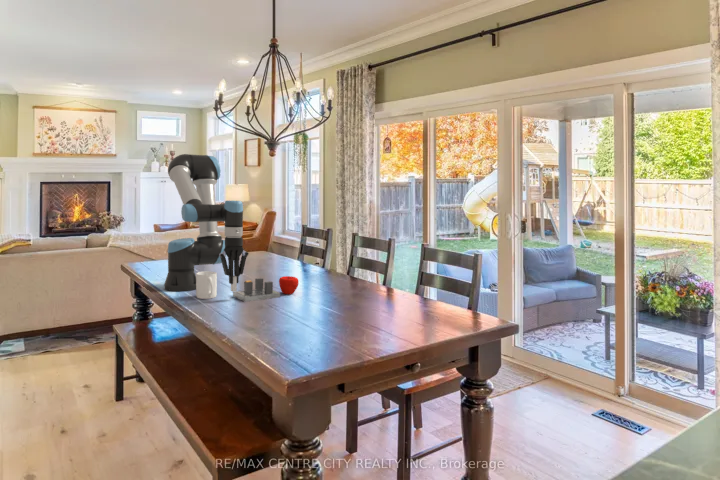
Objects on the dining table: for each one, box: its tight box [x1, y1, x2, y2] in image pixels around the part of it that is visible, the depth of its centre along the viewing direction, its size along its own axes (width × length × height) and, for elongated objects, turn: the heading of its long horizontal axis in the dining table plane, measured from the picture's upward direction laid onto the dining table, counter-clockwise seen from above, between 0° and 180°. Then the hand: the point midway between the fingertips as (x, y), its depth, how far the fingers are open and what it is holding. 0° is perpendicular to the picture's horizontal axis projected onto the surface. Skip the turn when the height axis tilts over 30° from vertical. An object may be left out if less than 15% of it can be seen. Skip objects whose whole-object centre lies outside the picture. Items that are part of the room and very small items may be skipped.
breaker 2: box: [263, 280, 274, 294], centre depth 216 cm, size 2×3×5 cm, turn 129°
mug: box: [195, 271, 218, 300], centre depth 213 cm, size 9×12×11 cm
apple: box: [278, 275, 299, 295], centre depth 226 cm, size 9×9×8 cm
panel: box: [232, 287, 281, 303], centre depth 218 cm, size 12×17×2 cm
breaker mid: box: [243, 280, 254, 294], centre depth 215 cm, size 2×3×5 cm, turn 129°
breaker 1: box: [254, 277, 264, 290], centre depth 223 cm, size 2×3×5 cm, turn 129°
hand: (233, 290), depth 211 cm, fingers closed
